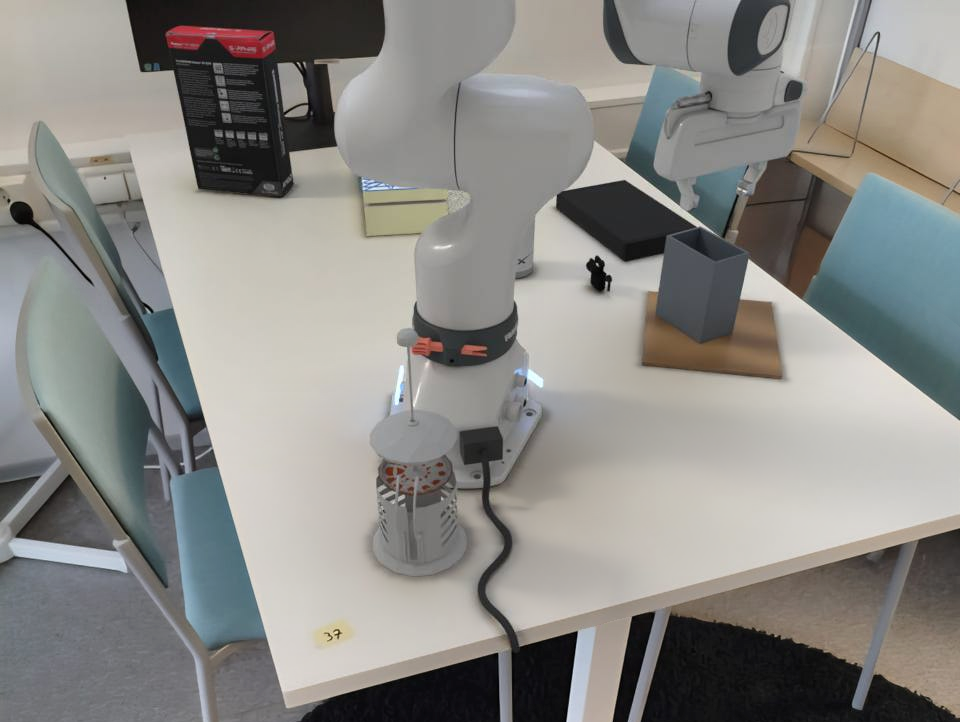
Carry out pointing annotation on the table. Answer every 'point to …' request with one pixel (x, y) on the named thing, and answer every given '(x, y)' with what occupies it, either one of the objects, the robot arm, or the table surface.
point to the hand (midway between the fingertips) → (716, 201)
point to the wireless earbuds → (598, 274)
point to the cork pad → (717, 343)
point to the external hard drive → (622, 218)
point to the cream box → (400, 208)
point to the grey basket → (701, 284)
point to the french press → (416, 488)
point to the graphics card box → (232, 109)
